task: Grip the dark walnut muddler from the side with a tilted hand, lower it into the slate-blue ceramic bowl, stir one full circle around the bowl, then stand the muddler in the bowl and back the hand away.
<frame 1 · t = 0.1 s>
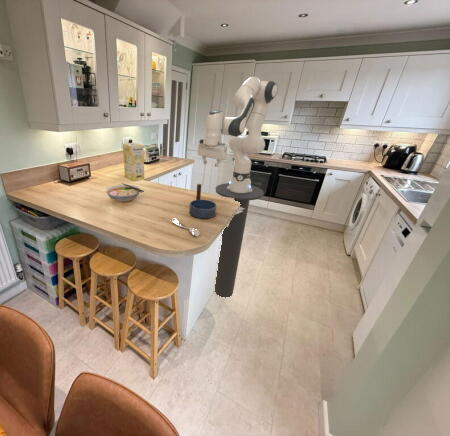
hand: (210, 165, 141), 25 cm above the breakfast bar, tool pointing down, fingers open, 8 cm apart
mixing bowl: (202, 213, 138), on the breakfast bar
muddler: (197, 205, 149), on the breakfast bar
ramen bowl: (124, 200, 157), on the breakfast bar
pasta box: (134, 177, 206), on the breakfast bar
silver metal spoon: (184, 228, 122), on the breakfast bar
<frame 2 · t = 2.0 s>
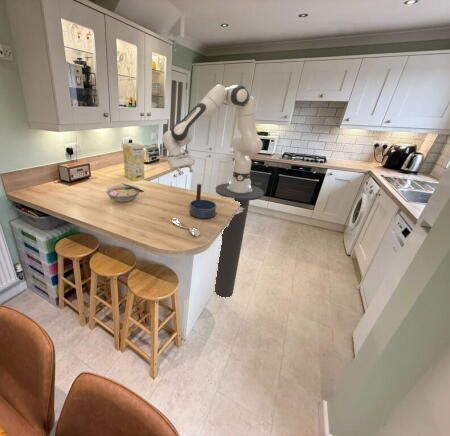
hand: (187, 173, 149), 19 cm above the breakfast bar, tool tilted 45°, fingers open, 8 cm apart
nothing on the breakfast bar moved.
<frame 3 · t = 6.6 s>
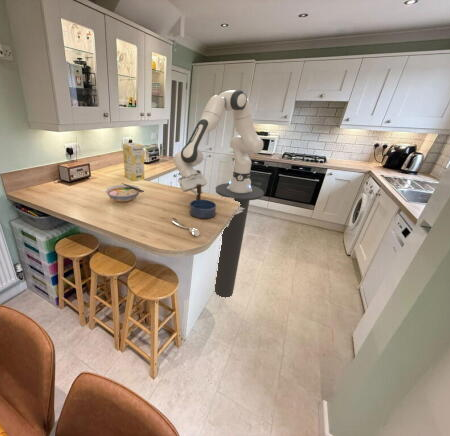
hand: (199, 194, 145), 8 cm above the breakfast bar, tool tilted 45°, fingers closed on muddler, 2 cm apart
muddler: (197, 205, 149), on the breakfast bar, touching gripper
everything else where it was.
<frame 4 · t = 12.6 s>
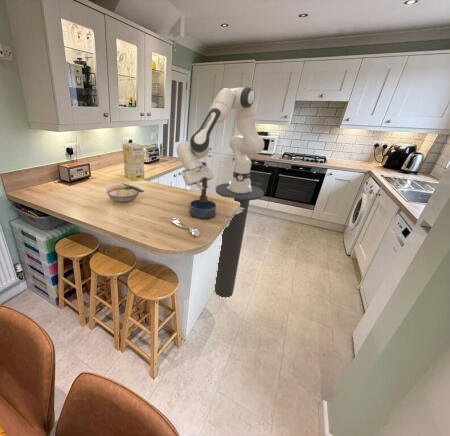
hand: (205, 188, 131), 16 cm above the breakfast bar, tool tilted 45°, fingers closed on muddler, 2 cm apart
muddler: (203, 201, 134), point 8 cm above the breakfast bar, touching gripper
everything else where it was.
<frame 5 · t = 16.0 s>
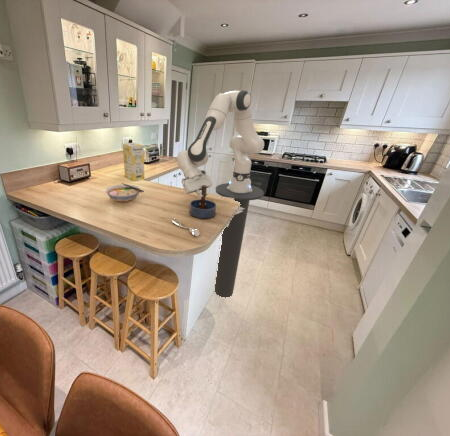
hand: (204, 196, 135), 10 cm above the breakfast bar, tool tilted 45°, fingers closed on muddler, 2 cm apart
muddler: (202, 208, 138), point 3 cm above the breakfast bar, touching gripper
everything else where it was.
when the fingers open (8 cm above the breakfast bar, at t = 18.8 s): muddler stays where it is, resting on mixing bowl.
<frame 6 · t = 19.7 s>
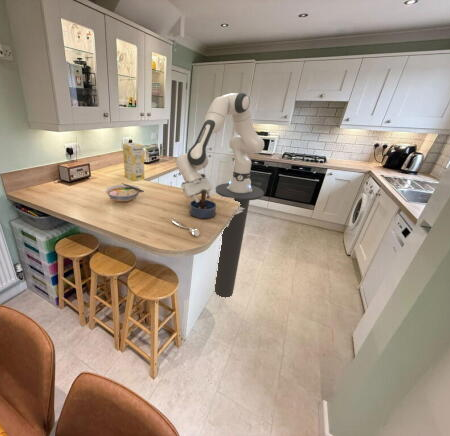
hand: (204, 200, 134), 9 cm above the breakfast bar, tool tilted 45°, fingers open, 8 cm apart
muddler: (202, 212, 138), point 1 cm above the breakfast bar, touching mixing bowl
everything else where it was.
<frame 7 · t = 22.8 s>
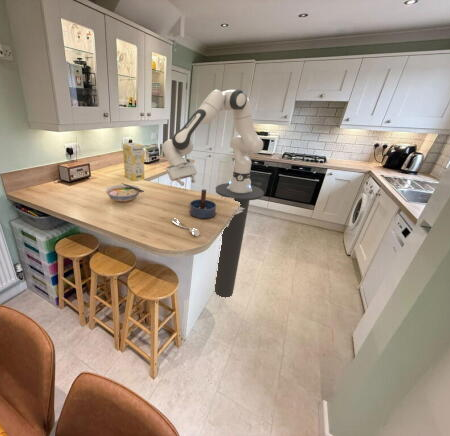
hand: (188, 183, 140), 15 cm above the breakfast bar, tool tilted 45°, fingers open, 8 cm apart
nothing on the breakfast bar moved.
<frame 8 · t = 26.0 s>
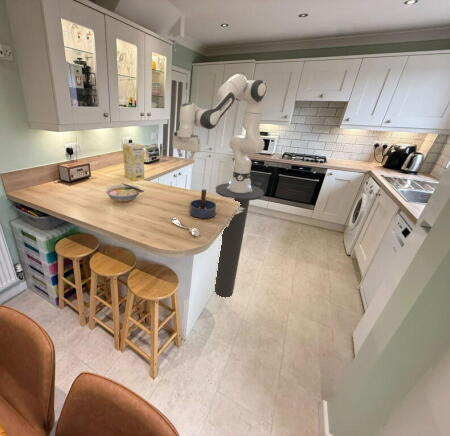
hand: (185, 157, 141), 29 cm above the breakfast bar, tool pointing down, fingers open, 8 cm apart
nothing on the breakfast bar moved.
at the end: muddler inside the target area in the mixing bowl (0.1 cm from its centre), point 0.8 cm above the mixing bowl's base; the gripper is holding nothing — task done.
